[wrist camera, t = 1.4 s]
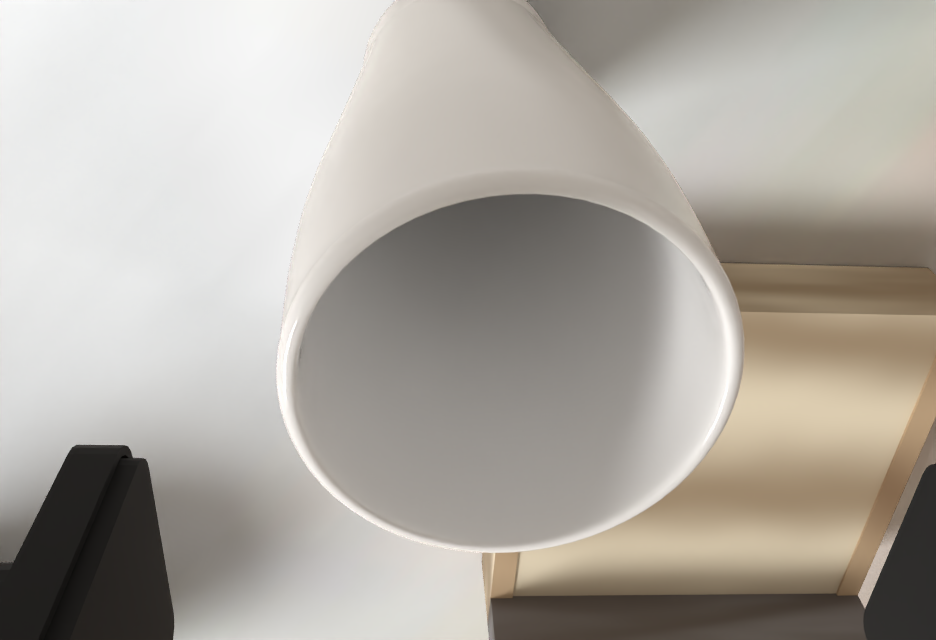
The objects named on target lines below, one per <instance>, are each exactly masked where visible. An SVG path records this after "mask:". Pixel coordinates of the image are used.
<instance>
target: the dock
mask: <svg viewBox="0 0 936 640" xmlns="http://www.w3.org/2000/svg"><path fill="white" fill-rule="evenodd" d="M721 266H722V267H723V269H724V271H725V273H726V274H727V276H728V278H729V280H730V283H731V285H732V288H733V290H734V293H735V295H736V298H737V301H738V305H739V309H740V312H741V316H742V323H743V330H744V347H745V357H744V366H743V375H742V379H741V384H740V388H739V393H738V396H737V399H736V402H735V404H734V407H733V410H732V412H731V415H730V417H729V419H728V421H727V423H726V425H725V427H724V429H723V431H722V433H721V434H720V436H719V438H718V439H717V441H716V443H715V444H714V446H713V447H712V448H711V450H710V451H709V452H708V454H707V455H706V456H705V458H704V459H703V460H702V462H701V463H700V464H699V465H698V466H697V467H696V468H695V469H694V471H693V472H692V473H691V474H690V475H689V476H688V477H687V478H686V479H685V480H684V481H683V482H681V483H680V484H679V485H678V486H677V487H676V488H675V489H674V490H672V491H671V492H670V493H669V494H667V495H666V496H665V497H664V498H663V499H661V500H660V501H658V502H657V503H655V504H654V505H652V506H651V507H650V508H648V509H647V510H645V511H643V512H642V513H640V514H638V515H636V516H635V517H633V518H631V519H630V520H628V521H626V522H624V523H622V524H619V525H617V526H615V527H613V528H611V529H609V530H606V531H604V532H601V533H599V534H596V535H594V536H591V537H588V538H585V539H582V540H579V541H575V542H572V543H568V544H564V545H560V546H556V547H551V548H545V549H539V550H532V551H523V552H510V553H483V555H482V569H483V579H484V590H485V600H486V611H487V622H488V632H489V640H867V638H866V636H865V632H864V625H863V617H864V612H865V608H864V607H863V605H862V603H861V601H860V599H859V597H858V593H859V591H860V589H861V586H862V584H863V582H864V580H865V577H866V575H867V573H868V570H869V568H870V566H871V564H872V561H873V559H874V557H875V554H876V552H877V550H878V548H879V545H880V543H881V541H882V538H883V536H884V534H885V532H886V529H887V527H888V525H889V523H890V520H891V518H892V516H893V513H894V511H895V509H896V507H897V504H898V502H899V500H900V497H901V495H902V493H903V491H904V488H905V486H906V484H907V481H908V479H909V477H910V475H911V472H912V470H913V468H914V465H915V463H916V461H917V459H918V456H919V454H920V452H921V450H922V447H923V445H924V443H925V440H926V438H927V436H928V434H929V431H930V429H931V427H932V424H933V422H934V420H935V418H936V275H935V274H934V273H933V272H932V271H931V270H930V269H929V268H912V267H869V266H827V265H784V264H741V263H721Z"/></svg>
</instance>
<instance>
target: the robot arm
mask: <svg viewBox="0 0 936 640" xmlns="http://www.w3.org/2000/svg"><path fill="white" fill-rule="evenodd" d="M863 625H864V632H865V636H866V638H867V640H936V464H933V465H930V466H928V467H927V468H926V470H925V471H924V473H923V475H922V478H921V480H920V482H919V485H918V487H917V489H916V492H915V494H914V496H913V499H912V501H911V503H910V506H909V508H908V510H907V513H906V515H905V517H904V520H903V522H902V524H901V527H900V529H899V531H898V534H897V536H896V538H895V541H894V543H893V545H892V548H891V550H890V552H889V555H888V557H887V559H886V562H885V564H884V566H883V569H882V571H881V573H880V576H879V578H878V580H877V583H876V585H875V587H874V590H873V592H872V594H871V597H870V599H869V601H868V604H867V606H866V608H865V612H864V617H863ZM173 634H174V613H173V607H172V602H171V596H170V590H169V584H168V578H167V572H166V566H165V560H164V554H163V549H162V543H161V537H160V531H159V525H158V519H157V513H156V507H155V501H154V495H153V490H152V484H151V478H150V472H149V467H148V463H147V461H146V459H144V458H133V457H132V454H131V451H130V449H129V447H128V446H125V445H76V446H74V447H72V449H71V450H70V452H69V453H68V455H67V457H66V459H65V461H64V463H63V465H62V467H61V469H60V471H59V473H58V475H57V477H56V479H55V481H54V483H53V485H52V487H51V489H50V491H49V493H48V495H47V497H46V499H45V501H44V503H43V505H42V507H41V509H40V511H39V513H38V515H37V517H36V519H35V521H34V523H33V525H32V527H31V529H30V531H29V533H28V535H27V537H26V539H25V541H24V543H23V545H22V547H21V549H20V551H19V553H18V555H17V557H16V559H15V561H14V563H0V640H173Z"/></svg>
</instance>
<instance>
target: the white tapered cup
mask: <svg viewBox="0 0 936 640" xmlns="http://www.w3.org/2000/svg"><path fill="white" fill-rule="evenodd" d="M744 357H745V347H744V330H743V323H742V316H741V312H740V309H739V305H738V301H737V298H736V295H735V293H734V290H733V288H732V285H731V283H730V280H729V278H728V276H727V274H726V273H725V271H724V269H723V267H722V266H721V263H720V261H719V259H718V257H717V255H716V253H715V251H714V249H713V247H712V245H711V243H710V240H709V238H708V236H707V234H706V232H705V231H704V229H703V227H702V225H701V223H700V221H699V219H698V217H697V216H696V214H695V212H694V210H693V208H692V207H691V205H690V203H689V201H688V200H687V198H686V196H685V194H684V192H683V191H682V189H681V187H680V186H679V184H678V182H677V181H676V179H675V177H674V176H673V174H672V173H671V171H670V170H669V168H668V167H667V165H666V164H665V162H664V161H663V159H662V158H661V157H660V155H659V154H658V153H657V151H656V150H655V148H654V147H653V146H652V144H651V143H650V142H649V140H648V139H647V137H646V136H645V135H644V133H643V132H642V131H641V130H640V129H639V127H638V126H637V125H636V124H635V123H634V121H633V120H632V119H631V118H630V117H629V116H628V115H627V114H626V113H625V112H624V110H623V109H622V108H621V107H620V106H619V105H618V104H617V103H616V102H615V101H614V100H613V98H612V97H611V96H610V95H609V94H608V93H607V92H606V91H605V90H604V89H603V88H602V87H601V86H600V85H599V84H598V83H597V82H596V81H595V80H594V79H593V78H592V77H591V76H590V75H589V74H588V72H587V71H586V70H585V69H584V68H583V67H582V66H581V65H580V64H579V63H578V62H577V61H576V60H575V59H574V58H573V57H572V56H571V55H570V54H569V53H568V52H567V51H566V50H565V49H564V47H563V46H562V45H561V44H560V43H559V42H558V41H557V40H556V39H555V38H554V37H553V36H552V35H551V33H550V32H549V30H548V28H547V27H546V25H545V23H544V22H543V20H542V18H541V17H540V16H539V14H538V13H537V12H536V10H535V9H534V8H533V7H532V6H531V5H530V4H529V3H528V2H527V1H526V0H396V1H394V2H393V3H392V4H391V5H390V7H389V8H388V9H387V10H386V11H385V12H384V14H383V15H382V16H381V17H380V19H379V21H378V22H377V24H376V26H375V27H374V30H373V32H372V34H371V36H370V38H369V41H368V44H367V47H366V51H365V55H364V61H363V66H362V69H361V71H360V73H359V76H358V78H357V80H356V83H355V85H354V87H353V90H352V92H351V94H350V96H349V99H348V101H347V103H346V105H345V108H344V110H343V112H342V114H341V117H340V119H339V121H338V123H337V125H336V127H335V130H334V132H333V134H332V136H331V139H330V141H329V143H328V145H327V147H326V150H325V152H324V154H323V156H322V159H321V161H320V164H319V166H318V168H317V171H316V174H315V176H314V179H313V182H312V185H311V188H310V190H309V193H308V196H307V199H306V202H305V205H304V208H303V212H302V215H301V219H300V223H299V227H298V231H297V235H296V239H295V243H294V247H293V252H292V257H291V262H290V267H289V272H288V278H287V284H286V292H285V299H284V307H283V316H282V324H281V333H280V340H279V345H278V354H277V362H276V383H277V391H278V399H279V405H280V409H281V413H282V416H283V420H284V423H285V426H286V428H287V431H288V434H289V436H290V439H291V441H292V443H293V444H294V446H295V448H296V450H297V452H298V454H299V456H300V457H301V459H302V460H303V462H304V463H305V465H306V466H307V467H308V469H309V470H310V472H311V473H312V474H313V475H314V476H315V478H316V479H317V480H318V481H319V482H320V483H321V485H322V486H324V487H325V488H326V489H327V490H328V491H329V492H330V493H331V494H332V495H333V496H334V497H335V498H336V499H337V500H339V501H340V502H341V503H342V504H344V505H345V506H346V507H348V508H349V509H350V510H352V511H353V512H355V513H356V514H358V515H359V516H361V517H362V518H364V519H366V520H367V521H369V522H371V523H373V524H375V525H377V526H379V527H381V528H382V529H385V530H387V531H389V532H392V533H394V534H396V535H399V536H401V537H404V538H407V539H410V540H413V541H416V542H419V543H423V544H427V545H431V546H435V547H440V548H446V549H451V550H458V551H467V552H479V553H510V552H523V551H532V550H539V549H545V548H551V547H556V546H560V545H564V544H568V543H572V542H575V541H579V540H582V539H585V538H588V537H591V536H594V535H596V534H599V533H601V532H604V531H606V530H609V529H611V528H613V527H615V526H617V525H619V524H622V523H624V522H626V521H628V520H630V519H631V518H633V517H635V516H636V515H638V514H640V513H642V512H643V511H645V510H647V509H648V508H650V507H651V506H652V505H654V504H655V503H657V502H658V501H660V500H661V499H663V498H664V497H665V496H666V495H667V494H669V493H670V492H671V491H672V490H674V489H675V488H676V487H677V486H678V485H679V484H680V483H681V482H683V481H684V480H685V479H686V478H687V477H688V476H689V475H690V474H691V473H692V472H693V471H694V469H695V468H696V467H697V466H698V465H699V464H700V463H701V462H702V460H703V459H704V458H705V456H706V455H707V454H708V452H709V451H710V450H711V448H712V447H713V446H714V444H715V443H716V441H717V439H718V438H719V436H720V434H721V433H722V431H723V429H724V427H725V425H726V423H727V421H728V419H729V417H730V415H731V412H732V410H733V407H734V404H735V402H736V399H737V396H738V393H739V388H740V384H741V379H742V375H743V366H744Z"/></svg>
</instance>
